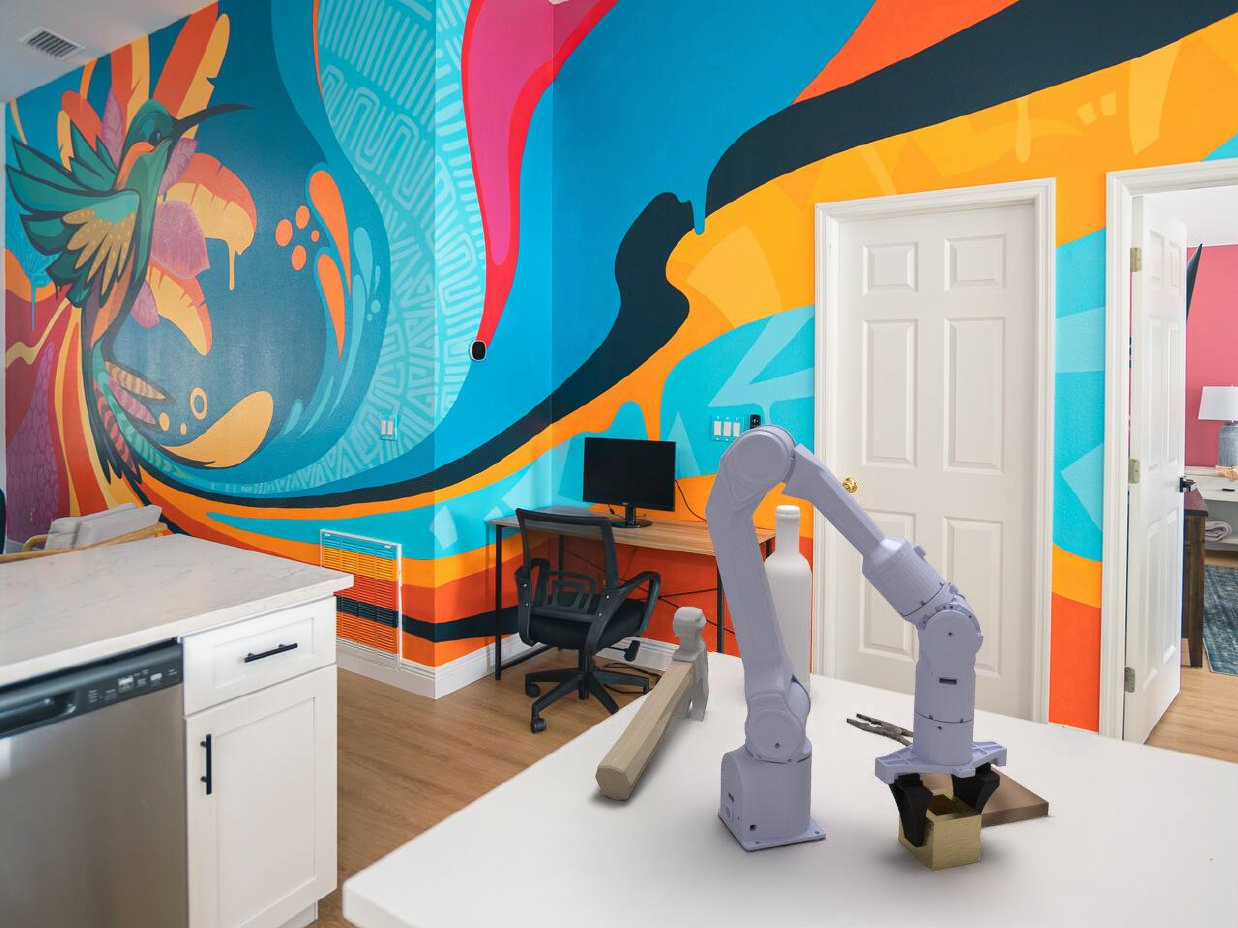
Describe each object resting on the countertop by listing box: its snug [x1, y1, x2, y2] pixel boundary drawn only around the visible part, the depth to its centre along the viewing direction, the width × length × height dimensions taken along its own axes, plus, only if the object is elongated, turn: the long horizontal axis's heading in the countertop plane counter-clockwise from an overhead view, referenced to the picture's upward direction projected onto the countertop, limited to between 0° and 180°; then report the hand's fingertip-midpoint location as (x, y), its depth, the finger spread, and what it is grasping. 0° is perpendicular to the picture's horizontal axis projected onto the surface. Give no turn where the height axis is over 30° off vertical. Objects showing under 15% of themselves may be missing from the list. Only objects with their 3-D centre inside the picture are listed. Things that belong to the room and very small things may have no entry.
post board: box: [920, 765, 1050, 828], centre depth 94 cm, size 11×11×6 cm
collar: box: [897, 788, 982, 871], centre depth 83 cm, size 6×6×5 cm
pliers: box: [845, 712, 913, 747], centre depth 108 cm, size 10×1×20 cm
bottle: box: [764, 504, 813, 695], centre depth 123 cm, size 8×8×30 cm
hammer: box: [594, 606, 710, 801], centre depth 106 cm, size 16×5×30 cm
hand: (938, 837), depth 83 cm, fingers closed on collar, 6 cm apart
